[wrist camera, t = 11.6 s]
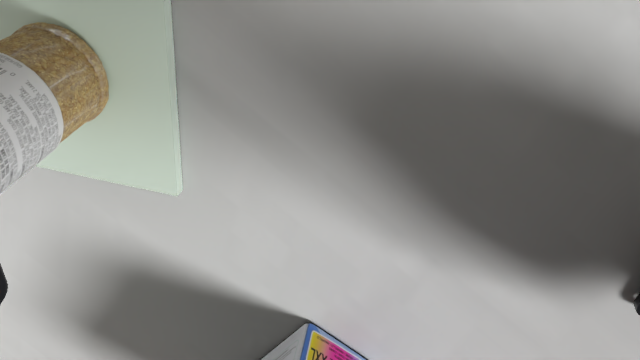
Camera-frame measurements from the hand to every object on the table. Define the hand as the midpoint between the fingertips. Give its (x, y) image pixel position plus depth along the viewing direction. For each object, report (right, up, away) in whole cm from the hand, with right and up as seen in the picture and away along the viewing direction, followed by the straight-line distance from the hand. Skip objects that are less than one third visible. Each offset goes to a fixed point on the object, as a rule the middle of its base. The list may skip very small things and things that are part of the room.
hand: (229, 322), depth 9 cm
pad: (-9, +7, +13) cm, 18 cm away
